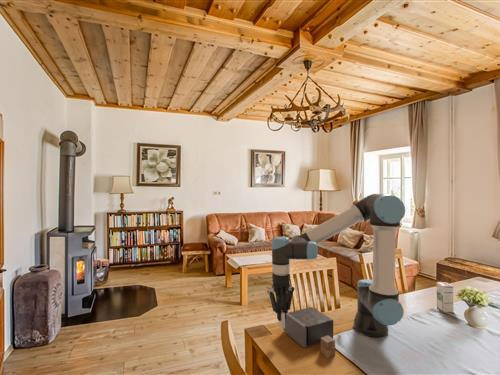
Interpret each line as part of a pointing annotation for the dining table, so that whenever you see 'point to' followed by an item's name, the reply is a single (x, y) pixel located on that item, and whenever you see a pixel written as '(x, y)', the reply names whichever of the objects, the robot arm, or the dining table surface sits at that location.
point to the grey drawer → (295, 329)
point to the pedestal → (327, 346)
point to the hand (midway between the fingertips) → (281, 327)
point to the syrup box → (445, 297)
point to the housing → (314, 324)
